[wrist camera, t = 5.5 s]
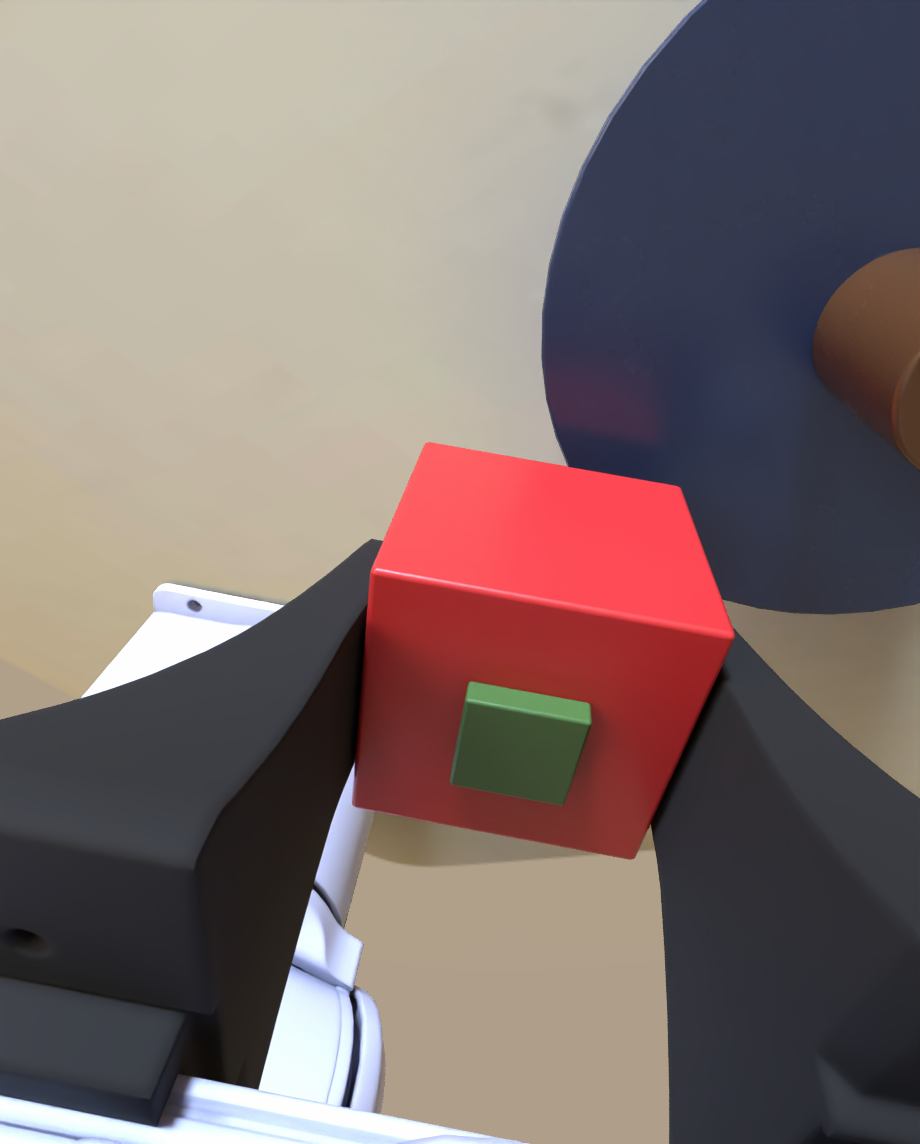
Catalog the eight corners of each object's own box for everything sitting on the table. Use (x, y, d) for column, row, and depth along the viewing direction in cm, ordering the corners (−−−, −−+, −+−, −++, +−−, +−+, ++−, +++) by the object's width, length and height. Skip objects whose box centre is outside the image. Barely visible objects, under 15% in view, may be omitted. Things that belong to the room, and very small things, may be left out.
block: (401, 640, 14) (342, 831, 10) (425, 439, 12) (361, 587, 8) (614, 679, 14) (637, 887, 10) (682, 485, 12) (747, 657, 8)
